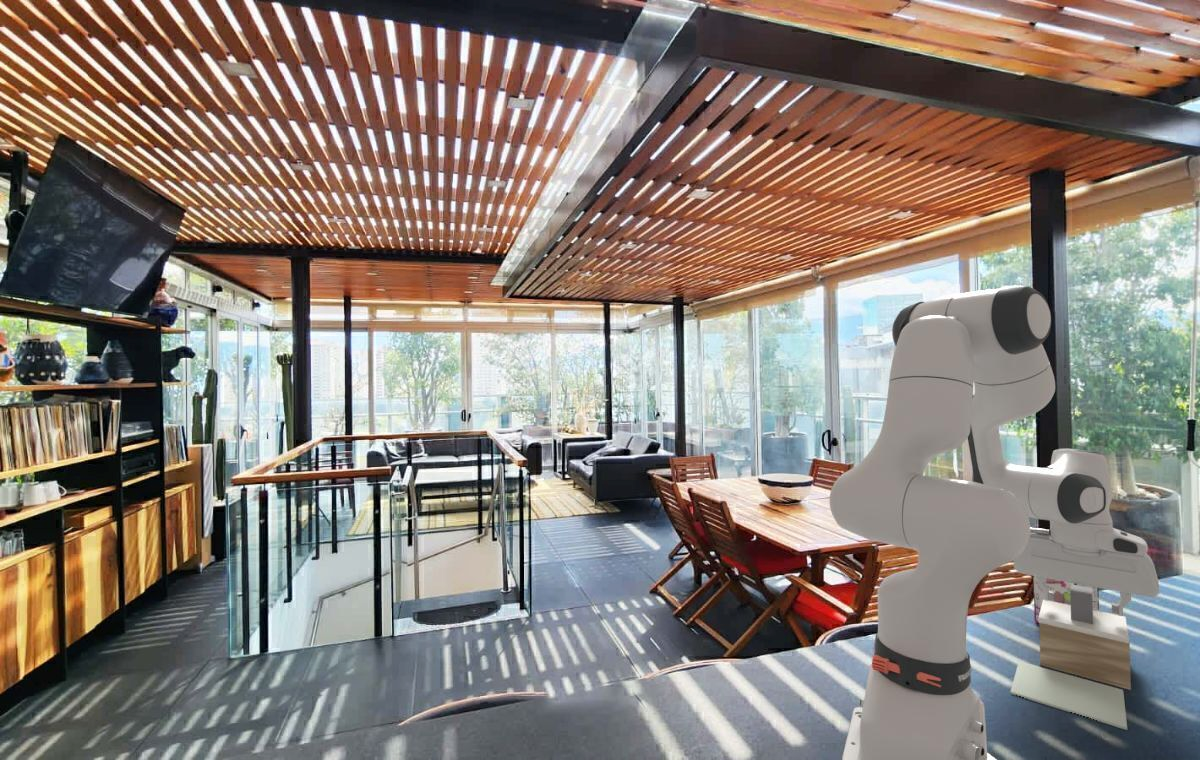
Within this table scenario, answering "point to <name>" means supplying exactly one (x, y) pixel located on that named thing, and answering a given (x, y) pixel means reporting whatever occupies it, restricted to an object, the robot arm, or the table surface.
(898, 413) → the robot arm
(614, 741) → the table surface
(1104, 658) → the box
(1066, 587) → the candy bar box
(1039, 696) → the mat
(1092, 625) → the lid
